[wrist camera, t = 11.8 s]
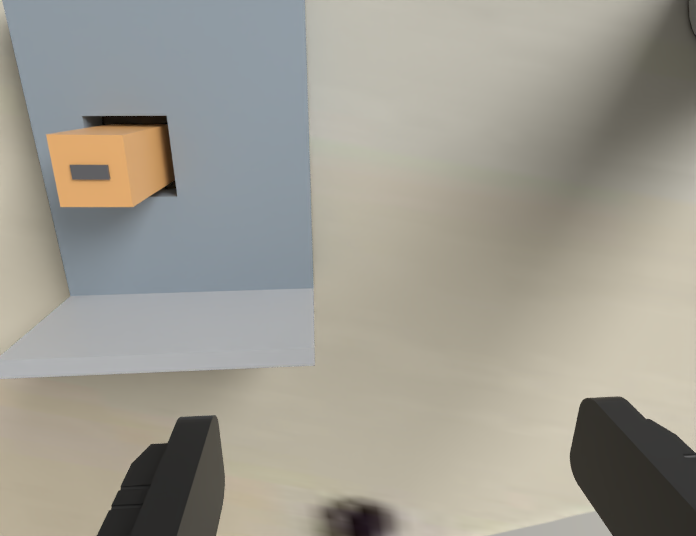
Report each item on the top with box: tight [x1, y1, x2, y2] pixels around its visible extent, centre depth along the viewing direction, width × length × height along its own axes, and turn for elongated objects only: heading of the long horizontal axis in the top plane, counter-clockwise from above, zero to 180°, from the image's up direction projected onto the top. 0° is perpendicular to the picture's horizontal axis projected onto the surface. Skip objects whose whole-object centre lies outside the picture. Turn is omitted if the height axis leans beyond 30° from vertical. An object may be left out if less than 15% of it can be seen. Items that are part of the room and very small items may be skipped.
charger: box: [46, 124, 175, 207], centre depth 30 cm, size 4×4×9 cm
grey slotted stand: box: [0, 0, 315, 379], centre depth 29 cm, size 18×21×12 cm
